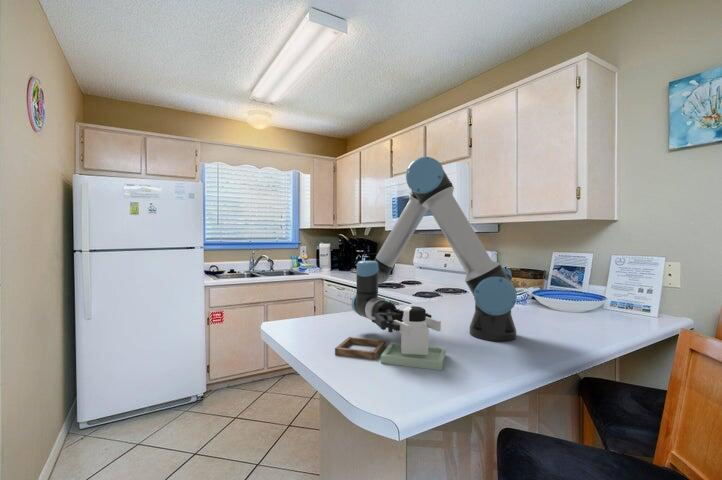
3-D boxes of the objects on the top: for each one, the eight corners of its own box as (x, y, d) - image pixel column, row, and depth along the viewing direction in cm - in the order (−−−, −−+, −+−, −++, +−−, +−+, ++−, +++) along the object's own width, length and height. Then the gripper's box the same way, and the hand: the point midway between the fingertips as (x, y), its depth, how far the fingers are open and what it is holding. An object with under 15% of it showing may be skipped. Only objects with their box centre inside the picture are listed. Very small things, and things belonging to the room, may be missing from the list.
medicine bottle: (426, 347, 99) (426, 305, 99) (428, 355, 92) (429, 310, 92) (401, 346, 100) (401, 304, 100) (401, 354, 93) (401, 309, 93)
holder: (385, 346, 107) (385, 340, 107) (375, 359, 95) (375, 352, 95) (349, 342, 110) (349, 336, 110) (334, 354, 99) (335, 348, 99)
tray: (445, 354, 99) (445, 348, 99) (442, 370, 88) (442, 362, 88) (390, 349, 104) (390, 342, 104) (380, 362, 93) (380, 355, 93)
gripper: (409, 319, 117) (456, 337, 97) (350, 327, 107) (388, 348, 87) (409, 297, 117) (456, 310, 97) (350, 302, 107) (388, 318, 87)
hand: (424, 328), depth 92 cm, fingers closed on medicine bottle, 9 cm apart
